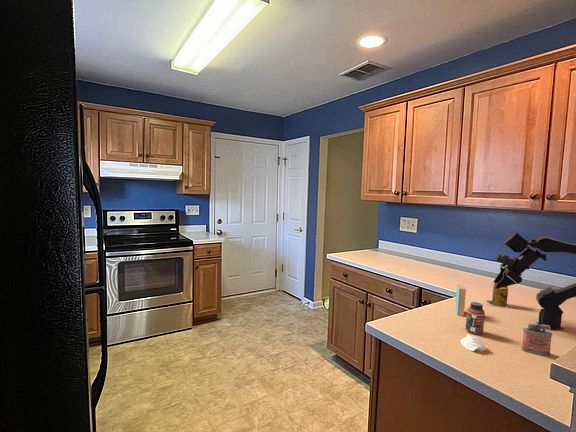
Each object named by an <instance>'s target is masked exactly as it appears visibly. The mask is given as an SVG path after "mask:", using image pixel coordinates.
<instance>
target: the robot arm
mask: <svg viewBox="0 0 576 432" xmlns="http://www.w3.org/2000/svg"><path fill="white" fill-rule="evenodd" d="M503 245H504V246H506V247H507V248H508V249H509V250H511V251H513V253H519V254H518V255H517V256H513V257H510V256H509V255H507V254H506V253H505V254H503V253H500V252H498V253H497V255H496V256H495V259H494V260H495V262H497V263H501V264H500V266H499V268H500V269H499V270H500V271H499V273H498V274H497V275H496V277H495V279H494V280H493V283H498V282H499V283H498V284H497V285H496V286H495V287H496V288H497V289H498V288H502V287H506V286H507V287H508V286H512V285H514V286H515V285H519V284H520V283H522V282H523V278H522V277H523V276H522V275H523V273H524V272H525V271H526V270H530V269H531V266H533V265H534V264H535V263H536V262H537V261H539V260H540V259H542V260H543V261H545V262H547V254H546V253H569V254H575V255H576V243H573V242H571V243H570V242H564V241H562V240H558V239H556V238H555V239H554V238H552V237H549V236H543V235H542V236H538V237H537V238H536V239H529V240H526V239H525V238H524V237H523V236H522V235H521V234H519V233H518V232H515V233H514V234H512V235H511V236H508V237H507V239H505V241H504V242H503ZM529 246H530V247H531V248H530V247H529ZM532 248H533V249H532ZM540 251H541V252H540ZM542 252H543V253H542ZM572 298H576V282H575V283H572V284H569V285H567V286H564V287H561V288H558V289H557V288H556V289H553V288H552V287H551V286H549V287H547V288H544V289H542V290H541V289H540V290H539V292H537V294H536V296H535V299H536V301H537V303H538V304H539V307H541V308H540V311H539V313H538V321H536V322H535V323H538V324H539V325H541V324H542V325H549V326H550V330H551V331H554V330H556V331H557V330H563V329H564V327H563V326H561V325H562V318H563V314H564V311H563V310H562V308H561V307H560V306H561V305H562V304H564V303H565V302H566V301H567V300H569V299H572ZM550 330H549V331H550Z"/></svg>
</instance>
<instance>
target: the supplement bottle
mask: <svg viewBox="0 0 576 432" xmlns="http://www.w3.org/2000/svg"><path fill="white" fill-rule="evenodd" d="M483 306H484V305H483V304H482V303H481V302H477V301H471V302H470V306H469V307H467V309H466V321H465V331H466V332H468V333H470V334H471V335H482V334H484V325H485V317H486V311H485V310H484V309H483Z"/></svg>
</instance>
